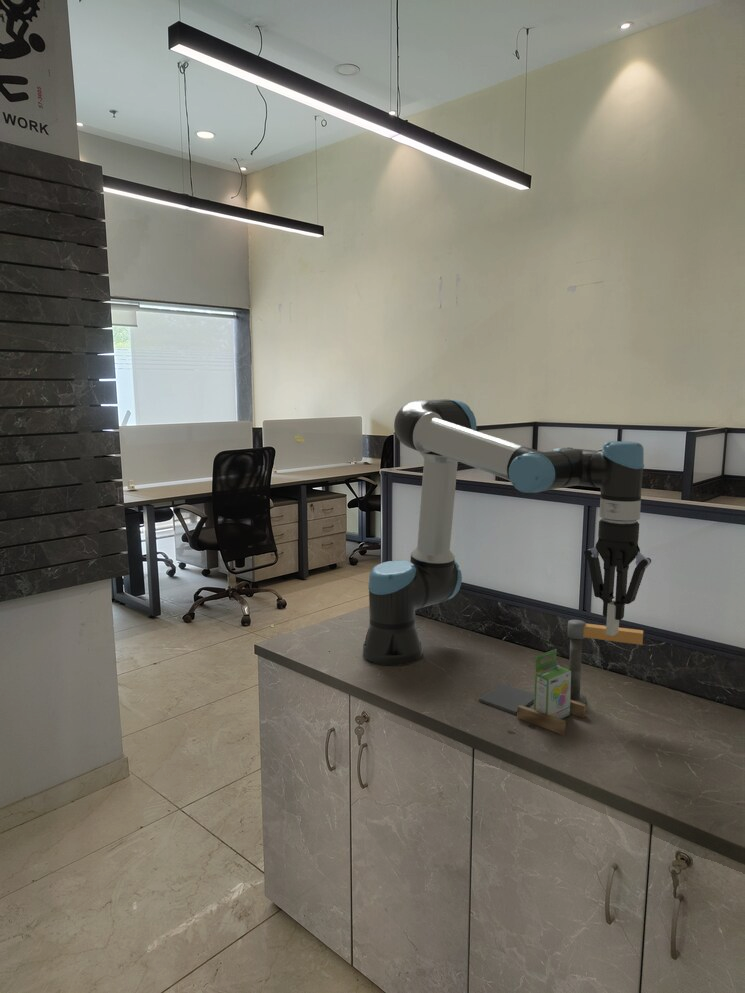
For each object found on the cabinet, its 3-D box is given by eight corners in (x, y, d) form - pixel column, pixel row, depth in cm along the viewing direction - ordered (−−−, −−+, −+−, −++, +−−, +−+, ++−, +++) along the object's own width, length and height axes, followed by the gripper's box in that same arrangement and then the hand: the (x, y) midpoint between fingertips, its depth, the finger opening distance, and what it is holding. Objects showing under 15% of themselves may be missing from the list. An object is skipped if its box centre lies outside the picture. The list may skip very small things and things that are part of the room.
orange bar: (566, 637, 135) (567, 624, 135) (568, 632, 139) (569, 618, 138) (642, 647, 130) (643, 633, 129) (642, 641, 133) (643, 627, 132)
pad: (478, 701, 138) (478, 698, 138) (503, 685, 146) (503, 683, 146) (515, 714, 132) (515, 711, 132) (539, 698, 140) (539, 695, 139)
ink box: (548, 726, 128) (550, 662, 126) (532, 718, 131) (534, 655, 129) (570, 716, 132) (572, 653, 130) (554, 708, 135) (556, 647, 133)
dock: (517, 718, 131) (519, 652, 129) (557, 689, 144) (559, 629, 141) (562, 734, 124) (565, 666, 122) (601, 703, 137) (604, 640, 135)
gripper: (579, 518, 129) (573, 630, 132) (645, 527, 120) (637, 647, 124) (595, 513, 134) (589, 621, 138) (659, 521, 125) (651, 636, 129)
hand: (612, 633), depth 131 cm, fingers closed
